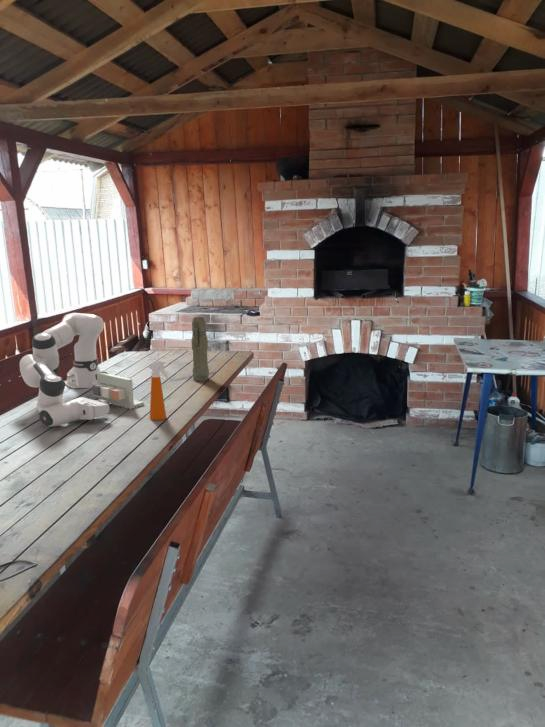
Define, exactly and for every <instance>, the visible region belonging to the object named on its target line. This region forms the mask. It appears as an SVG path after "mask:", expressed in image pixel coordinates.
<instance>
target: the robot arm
mask: <svg viewBox="0 0 545 727" xmlns="http://www.w3.org/2000/svg"><path fill="white" fill-rule="evenodd" d="M104 327H105V323H104V320H103V318H102V317H100V316H98V315H96V314H93V313H84V312H83V313H82V312H71V313H67V314H65V315H64V316H63V318H62V319H61V322H59V323H58V324H56V325H54V326H51V327H50V328H48V329H45V330H44V331H42V332H39V333H36V334H35V335H34V336H33V338H32V340H31V346H32V353H30V354H29V353H28V354H26V355H24V356H23V357H21V359H20V361H19V371H20V374H21V377H22V379H23V381H24V383H25V384H26V385H27V386H28V387H31V388H38V396H37V403H36V411H37V412H38V414H39V415H38V418H39V420H40V423H41V424H42V425H43V426H45V427H50V428H52V427H58V426H62V425H66V424H67V423H69V422H76V421H81V420H82V421H83V420H88V421H91V420H93V419H94V418H98V417H101V416H104V415H107V414H109V413H110V407H111V406H110V404H109V403H107V401H106V400H99V399H98V400H97V399H96V400H95V399H91V398H89V397H88V398H87V397H84V396H79V397H76V398H73V399H71V400H67V401H66V402H64V401H63V397H64V392H65V388H66V387H69V388H71V389H88V388H89V389H90V388H92V383H93V382H96V378H95V374H96V373H97V372H101V369H100V367H99V366H98V365H99V360H98V357H97V356H98V355H97V341H98V338H99V335H100V334H101V333H102V332H103V330H104ZM75 336H79V337H78V341H76V343H75V344H74V346H73V352H74V360H73V361H72V363H73V365H72V368H71V369H70V370H68V372H67V373H66V380H64V379H63V378H62V377H61V376H59V375H57V373H59V371H60V366H61V365H60V354H59V351H58V350H59V349H61V348H63V347H65V346H67V345H69V344H71V343H72V342H73V340H74V337H75Z"/></svg>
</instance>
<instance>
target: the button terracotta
mask: <svg viewBox="0 0 545 727" xmlns="http://www.w3.org/2000/svg"><path fill="white" fill-rule="evenodd" d="M125 398H126V389H125V388H118V389H114V390H111V399H112V400H116V401H119V400H121V399H125Z"/></svg>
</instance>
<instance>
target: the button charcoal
mask: <svg viewBox="0 0 545 727" xmlns="http://www.w3.org/2000/svg"><path fill="white" fill-rule="evenodd" d="M101 387H107V384H104V383H101V384H97V385H92V387H91V389H93V390H92V396H93V395H97V396H100V395H102V390H101Z"/></svg>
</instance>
